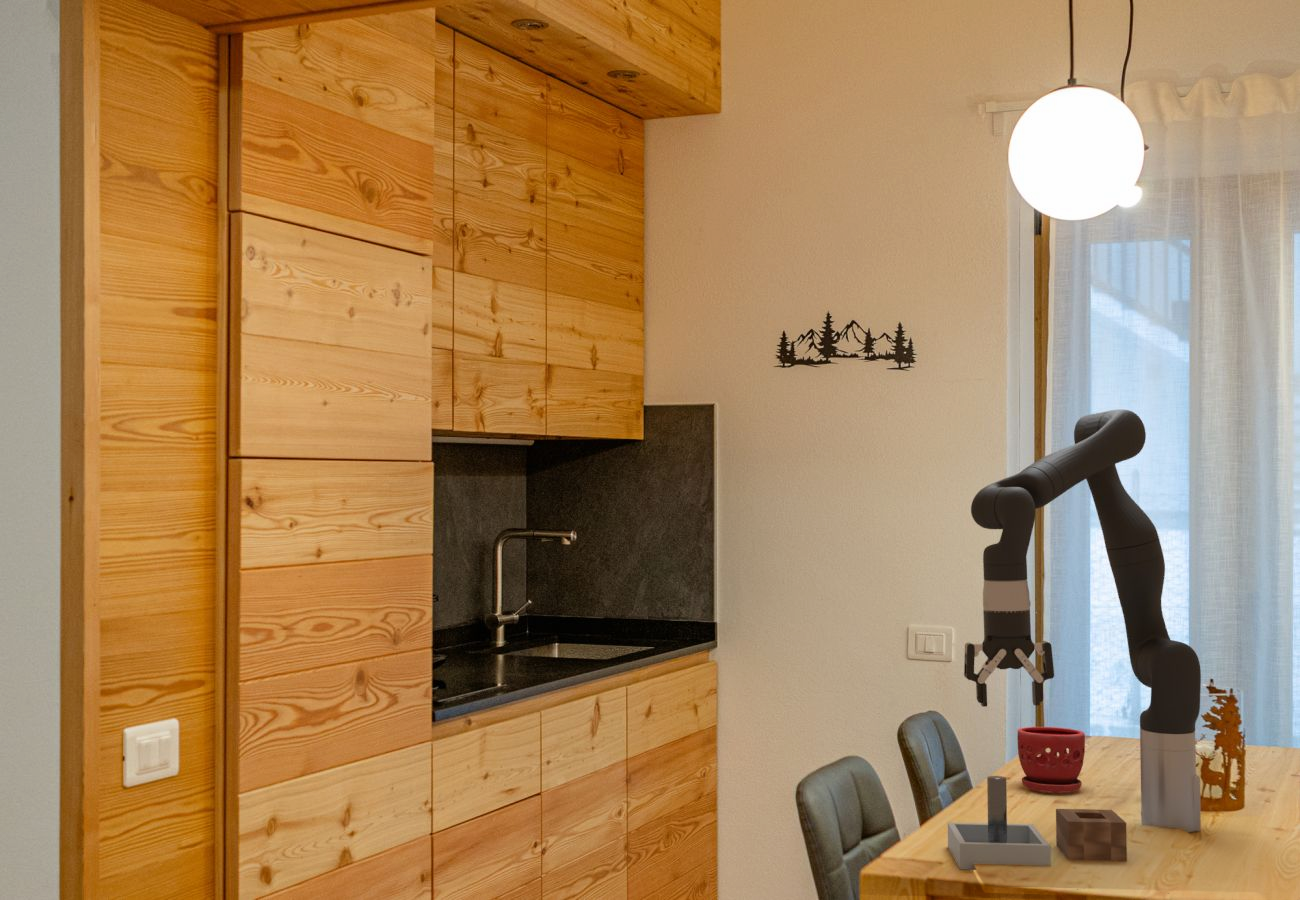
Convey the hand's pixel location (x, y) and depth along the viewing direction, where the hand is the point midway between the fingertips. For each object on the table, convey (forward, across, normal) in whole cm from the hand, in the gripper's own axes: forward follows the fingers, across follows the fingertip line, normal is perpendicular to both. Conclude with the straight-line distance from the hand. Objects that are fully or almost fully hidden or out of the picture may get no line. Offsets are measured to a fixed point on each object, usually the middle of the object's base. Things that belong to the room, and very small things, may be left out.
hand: (1009, 705), depth 220 cm
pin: (+23, +4, +4) cm, 24 cm away
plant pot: (+25, -18, -51) cm, 59 cm away
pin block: (+24, -11, +3) cm, 27 cm away
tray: (+24, +4, +4) cm, 25 cm away
